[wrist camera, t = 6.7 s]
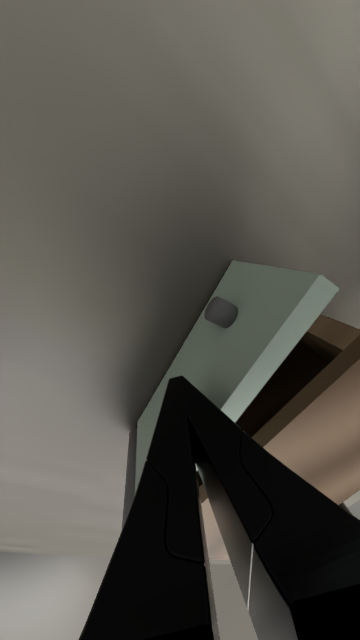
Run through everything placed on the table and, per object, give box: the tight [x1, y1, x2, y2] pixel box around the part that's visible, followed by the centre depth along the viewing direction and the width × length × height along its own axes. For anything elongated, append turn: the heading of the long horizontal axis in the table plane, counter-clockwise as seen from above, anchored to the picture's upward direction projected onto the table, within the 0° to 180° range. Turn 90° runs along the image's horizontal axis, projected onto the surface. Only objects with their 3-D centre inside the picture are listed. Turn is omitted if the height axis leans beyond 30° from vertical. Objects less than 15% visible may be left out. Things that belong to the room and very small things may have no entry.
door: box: [122, 260, 340, 529], centre depth 10 cm, size 2×15×6 cm, turn 151°
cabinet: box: [197, 314, 360, 560], centre depth 13 cm, size 10×15×6 cm, turn 142°
